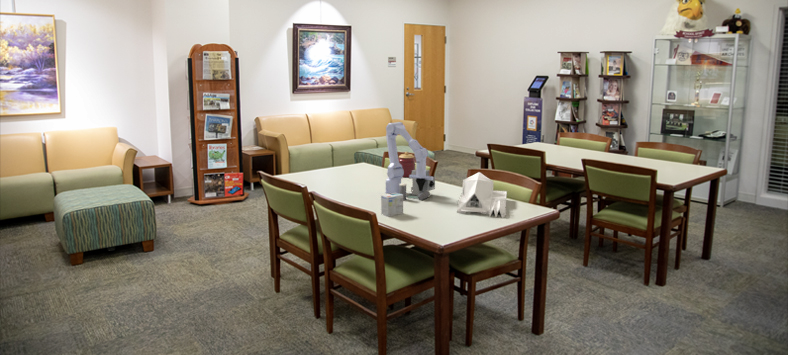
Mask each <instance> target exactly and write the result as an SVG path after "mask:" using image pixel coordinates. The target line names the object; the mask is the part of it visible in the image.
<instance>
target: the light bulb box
mask: <svg viewBox="0 0 788 355" xmlns="http://www.w3.org/2000/svg"><path fill="white" fill-rule="evenodd" d="M380 198H381V199H380V200H381V201H380V202H381V204H380V205H381V207H380V210H381V211H380V212H381V213H380V214H381V215H382V214H383V215H382V216H386V217H387V218H389V217H392V216H397V215H402V214H404V200H403V194H399V193H386V194H381V195H380Z"/></svg>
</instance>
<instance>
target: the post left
mask: <svg viewBox="0 0 788 355" xmlns="http://www.w3.org/2000/svg"><path fill="white" fill-rule="evenodd" d="M399 185H400V194H403V201H405V200H407V183H402V182H401V184H399Z"/></svg>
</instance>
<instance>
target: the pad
mask: <svg viewBox="0 0 788 355" xmlns="http://www.w3.org/2000/svg"><path fill="white" fill-rule="evenodd" d="M417 196H418V195H412V194H411V195H408V196H406V199H407V198H408V199H409V198H410V199H417V200H419V199H418V198H417Z"/></svg>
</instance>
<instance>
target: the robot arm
mask: <svg viewBox="0 0 788 355" xmlns="http://www.w3.org/2000/svg"><path fill="white" fill-rule="evenodd" d="M385 131H386V135H385V138H386V144H387V150H388V151H387V152H388V159H389V164H388V166H387V172H386V174H387V178H386V179H385V192H384V193H385V194H392V193H399V194H400V185H399V184H402V178H403V177H402V176H403V175H404V170H403V168H402V165H401V164H400V163H399V160H398V159H399V156H398V148H397V141H396V138H397V136H398V135H400V136H401V137H403V139H404V140H405V141H406V142H407V143H408V145H407V146H408V147H409V148H410V150H411V151H412V152H413V153H414V154H413V156H414V158H415V164H416V165H415V170H416V175H409V177H408V179H413V178H415V179H416V182H417V184H418V187H419V191H422V190H423V186H424V183H425V181H426V179H427V180H433V177H434V176H431V175H429V176H426V170H427V157H428V156H429V151H428V149H427V148H426V147H423V146H422V145H421V144H420V143H419V141H418V140H417V139H413V137H412V136H411V135H410V133H409V131H407V129H406V126H405V125H404V123H403V122H401V121H398V122H388V124H387V125H386V126H385Z"/></svg>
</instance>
